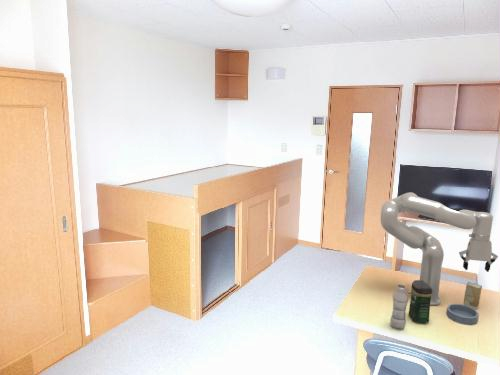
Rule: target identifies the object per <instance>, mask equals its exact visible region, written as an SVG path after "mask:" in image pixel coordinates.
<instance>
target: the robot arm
mask: <svg viewBox="0 0 500 375" xmlns="http://www.w3.org/2000/svg"><path fill="white" fill-rule="evenodd" d="M405 211H408V212H409V213H414V214H417V215H421V216H425V217H428V218H432V219H434V220H435V221H439V222H440V223H444V224H446V225H449V226H451V227H456V228H459V229H462V230H472V232H471V233H469V234H468V237H469V239H468V240H469V241H468V243H467V247H466V249H464V250H461V251H459V252H458V254H459V257H460V258H461V260H463V262H462V263H463V264H462V268H463V269H464V270H465V271H468V268H469V261H470V260H471V261H477V262H485V264H484V271H486V272H487V273H489V271H490V270H491V265H492V264H493V263H494V262H496V260H497V259H498V258H499V256H498V255H497V254H496V253H494V252H492V251H493V249H492V248H493V247H492V245H493V244H492V241H491V234H492V226H493V219H494V215H493V214H492V213H491V212H490V213H489V212H485V211H475V210H470V209H461V210H459V211H457V210H454V209H451V208H449V207H447V206H446V205H444V204H443V203H441V202H439V201H435V200H432V199H428V198H424V197H421V196H418V195H417V194H416V193H414V192H412V191H411V192H406V193H402V194H401V195H398V196H396V197H394V198H392V199H388V200H386V201H385V202H384V203H383V204H382V206H381V211H380V225H381V227H382V228H383V230H384V231H385V232H387V233H388V234H389V235H391V236H393V237H394V238H396V239H397V240H399V241H400V242H401V243H403V244H404V245H405V246H408V247H409V248H410V249H414V250H416V249H420V250H421V251H422V257H421V262H420V263H421V264H420V270H419V271H420V272H419V273H420V274H419V280H423V281H424V282H426V283H427V284H428V285H429V286H430V287H431V288H432V296H431V301H430V306H439V305H440V304H441V303H442V299H441V298H440V297H439V293H440V292H439V291H440V283H441V276H442V275H441V273H442V268H443V261H444V259H445V258H444V256H445V255H444V254H445V253H444V248H443V246H442V244H441V242H440V240H438V238H436V237H434V236H433V235H431V234H430V233H429V232H427V231H425V230H423V229H422V228H420V227H418V226H414V225H411V226H408V225H407V224H405V223H404V222H401V221H400V220H399V219H398V217H399V214H400V213H402V212H405ZM464 255H465V256H464ZM408 294H410V295H411V290H410V289H408Z"/></svg>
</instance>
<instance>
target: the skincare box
mask: <svg viewBox="0 0 500 375" xmlns="http://www.w3.org/2000/svg"><path fill="white" fill-rule="evenodd" d="M482 288H483V286H482V285H480V284H478V283H474V282H470V281H468V282H467V283H466V286H465V292H464V298H463V302H462V305H465V306H469V307H471V308H473V309H475V310H476V311H477V310H478V308H479V305H480V299H481V294H482Z"/></svg>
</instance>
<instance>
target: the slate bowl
mask: <svg viewBox="0 0 500 375" xmlns="http://www.w3.org/2000/svg"><path fill="white" fill-rule="evenodd" d="M445 314H446V316H447V318H448V319H450V320H451V321H453V322H454V323H457V324H460V325H461V324H462V325H466V326H473V325H477V323H478V321H479V316H480V314H479V312H478V311H477V310H475V309H473V308H471V307H469V306H465V305H463V303H462V304H461V303H450V304H448V306H447V307H446V312H445Z"/></svg>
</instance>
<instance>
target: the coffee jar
mask: <svg viewBox="0 0 500 375" xmlns="http://www.w3.org/2000/svg"><path fill="white" fill-rule="evenodd" d="M410 288H411V294H410V302H409V308H408V316H409V318H410V320H412V321H413V322H415V323H417V324H421V325H423V324H424V325H425V324H427V323H429V321H430V309H431V305H430V301H431V296H432V288H431V287H430V286H429V285H428V284H427V283H426V282H424V281H423V280H420V279H419V280H418V279H417V280H416V279H415V280H413V281H412V283H411V287H410Z"/></svg>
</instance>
